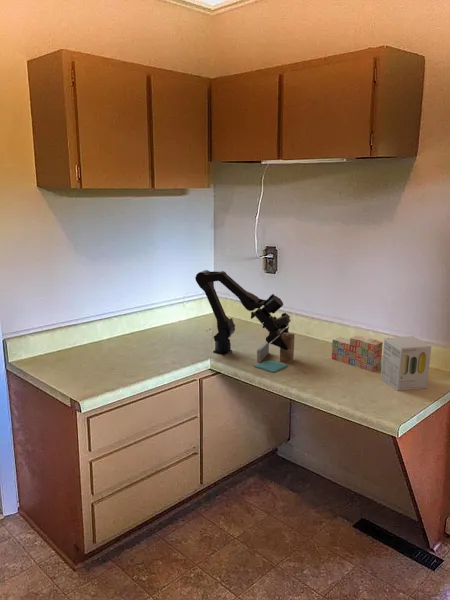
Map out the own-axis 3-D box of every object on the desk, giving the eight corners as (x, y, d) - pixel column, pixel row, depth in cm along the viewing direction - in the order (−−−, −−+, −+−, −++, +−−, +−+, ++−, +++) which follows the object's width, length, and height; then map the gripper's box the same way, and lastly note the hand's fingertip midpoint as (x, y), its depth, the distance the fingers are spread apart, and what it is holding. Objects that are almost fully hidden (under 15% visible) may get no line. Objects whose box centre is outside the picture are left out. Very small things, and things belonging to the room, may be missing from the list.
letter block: (279, 361, 239) (280, 335, 236) (282, 358, 243) (283, 332, 241) (290, 363, 237) (291, 336, 234) (293, 359, 242) (294, 333, 239)
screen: (256, 361, 238) (257, 349, 237) (265, 352, 250) (265, 341, 249) (260, 362, 238) (260, 350, 237) (268, 353, 250) (268, 341, 248)
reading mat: (254, 366, 232) (254, 365, 232) (268, 361, 239) (268, 359, 239) (273, 372, 226) (273, 371, 225) (287, 366, 233) (287, 365, 233)
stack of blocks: (331, 359, 243) (332, 332, 240) (339, 356, 247) (340, 330, 244) (372, 372, 228) (375, 344, 225) (380, 368, 232) (383, 341, 229)
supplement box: (397, 391, 208) (401, 348, 204) (379, 378, 221) (383, 337, 217) (427, 388, 211) (432, 345, 207) (409, 376, 224) (413, 335, 220)
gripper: (273, 313, 228) (298, 341, 227) (285, 303, 245) (308, 330, 244) (255, 329, 232) (279, 357, 231) (267, 318, 249) (290, 344, 248)
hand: (290, 346), depth 238 cm, fingers open, 9 cm apart
